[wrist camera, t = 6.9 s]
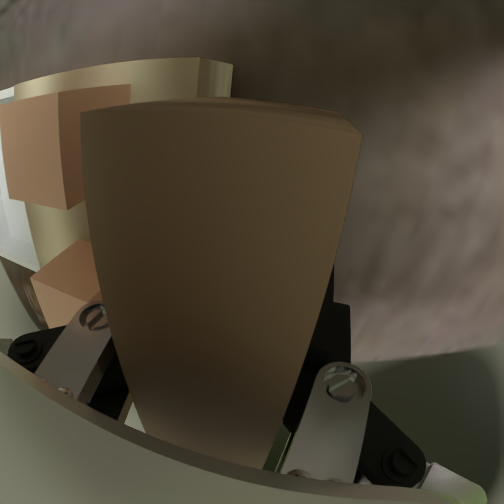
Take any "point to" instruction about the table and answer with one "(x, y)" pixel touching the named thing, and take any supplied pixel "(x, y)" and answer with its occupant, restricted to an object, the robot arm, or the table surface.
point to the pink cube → (50, 143)
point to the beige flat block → (142, 90)
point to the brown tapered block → (215, 256)
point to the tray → (14, 217)
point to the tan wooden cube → (67, 284)
